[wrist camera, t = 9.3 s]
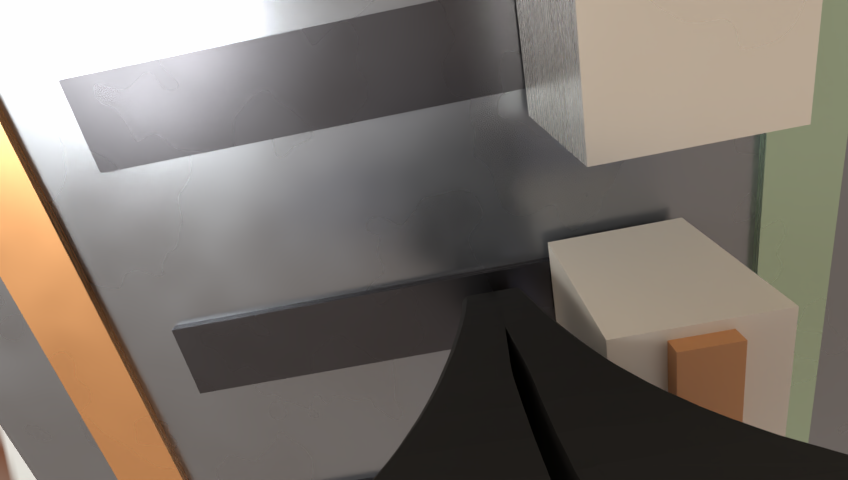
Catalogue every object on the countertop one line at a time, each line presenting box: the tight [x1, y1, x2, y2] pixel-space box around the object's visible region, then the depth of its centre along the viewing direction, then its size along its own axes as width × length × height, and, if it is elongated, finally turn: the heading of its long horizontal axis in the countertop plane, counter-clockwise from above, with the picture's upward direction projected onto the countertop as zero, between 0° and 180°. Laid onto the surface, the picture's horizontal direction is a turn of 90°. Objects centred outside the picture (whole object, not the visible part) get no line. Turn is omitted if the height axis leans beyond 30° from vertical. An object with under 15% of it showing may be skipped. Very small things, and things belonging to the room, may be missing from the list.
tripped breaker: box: [548, 218, 799, 437], centre depth 10 cm, size 3×3×4 cm
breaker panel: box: [0, 0, 848, 480], centre depth 11 cm, size 16×22×5 cm
